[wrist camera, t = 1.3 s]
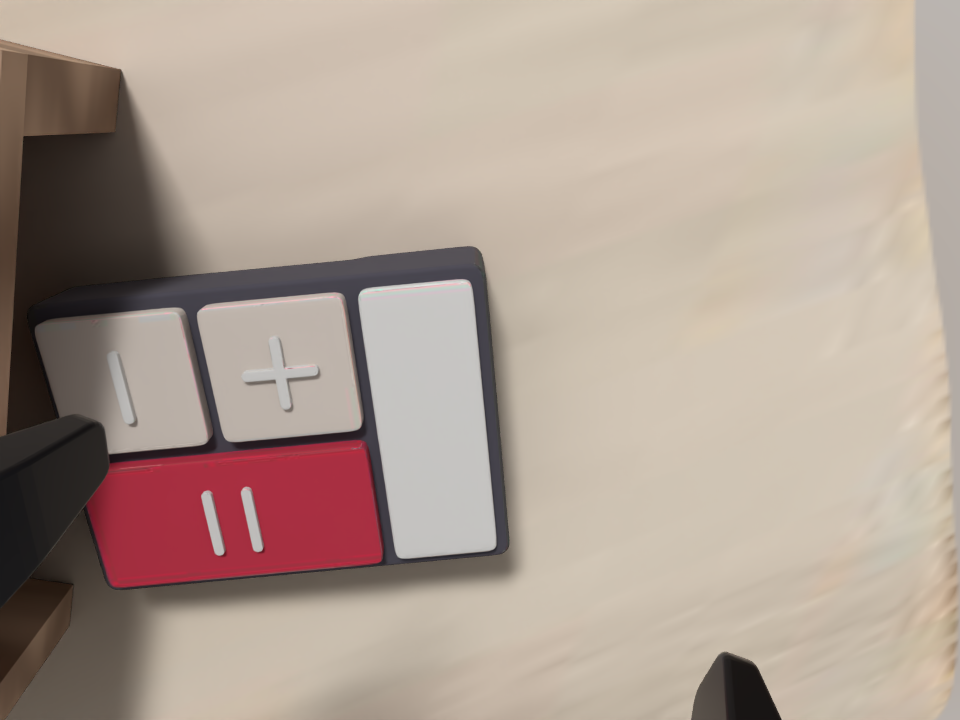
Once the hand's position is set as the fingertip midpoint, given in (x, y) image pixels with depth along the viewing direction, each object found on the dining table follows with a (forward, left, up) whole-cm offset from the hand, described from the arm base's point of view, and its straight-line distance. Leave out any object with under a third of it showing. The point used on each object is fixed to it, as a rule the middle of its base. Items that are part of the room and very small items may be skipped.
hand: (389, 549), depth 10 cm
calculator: (-6, +3, -18) cm, 19 cm away
